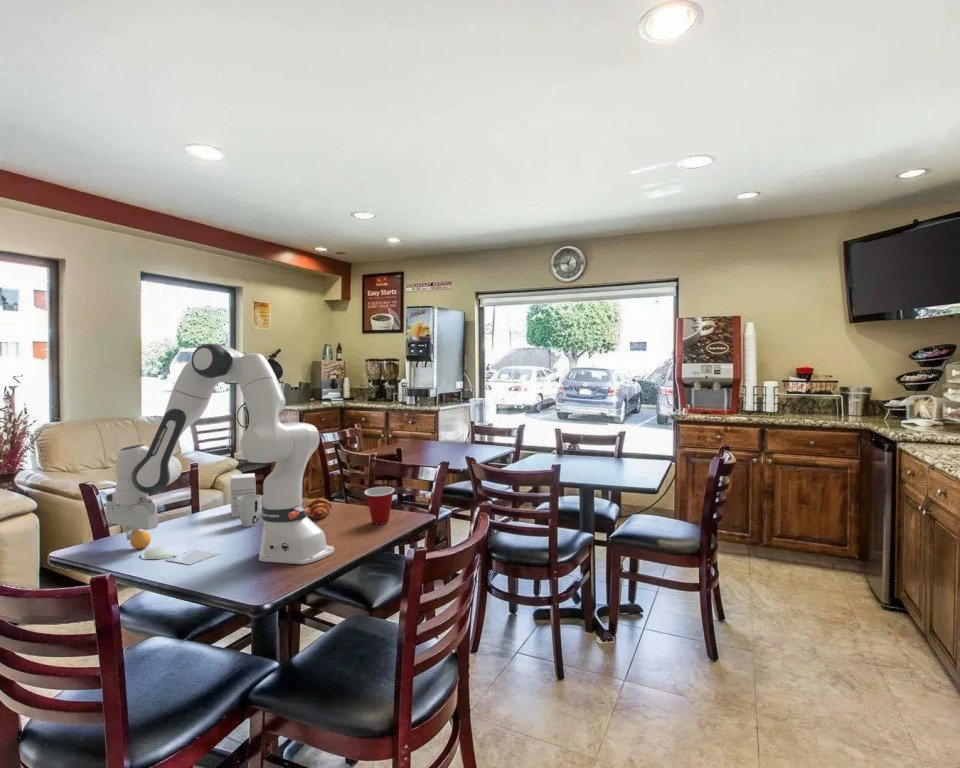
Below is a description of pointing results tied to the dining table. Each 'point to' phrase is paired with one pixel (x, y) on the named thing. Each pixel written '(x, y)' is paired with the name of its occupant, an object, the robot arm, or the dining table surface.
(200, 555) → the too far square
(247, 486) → the supplement box
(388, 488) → the plastic cup
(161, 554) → the disc
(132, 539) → the ball
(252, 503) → the cup
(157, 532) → the dining table surface
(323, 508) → the croissant
